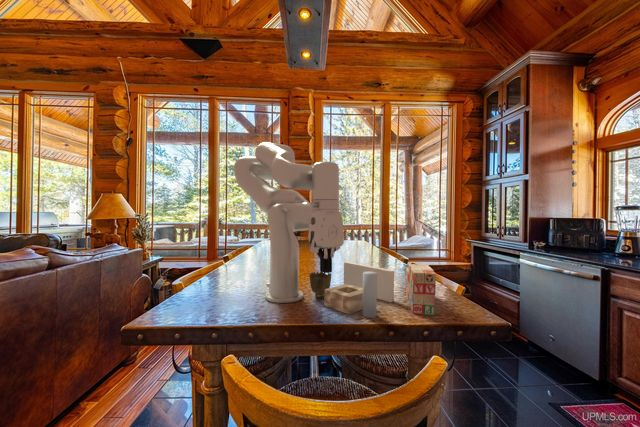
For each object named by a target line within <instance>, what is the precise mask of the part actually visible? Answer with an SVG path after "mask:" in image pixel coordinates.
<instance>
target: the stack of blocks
mask: <svg viewBox="0 0 640 427" xmlns="http://www.w3.org/2000/svg"><path fill="white" fill-rule="evenodd" d="M436 281H437V273H436V272H435V270H434V269H433V268H432V267H431V266H429V264H417V263H416V264H415V263H409V264H408V267H405V294H406V298H407V301H408V304H409V307H410V310H411V313H412V314H413V315H422V316H423V315H424V316H426V315H427V316H435V315H436V286H437V285H436V283H437V282H436Z"/></svg>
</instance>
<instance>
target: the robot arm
mask: <svg viewBox="0 0 640 427" xmlns="http://www.w3.org/2000/svg"><path fill="white" fill-rule="evenodd" d="M233 171H234V172H233V173H234V176H235V177H234V178H235V180H236V183H237V184H238V186H239V187H240V188H241V190H242V191H243V192H245V193H246V194H247V195H248V196H249V197H250V198H251V200H252V201H253V202H254V203H255V204H256V205H257V206H258V208H260V210H261V211H262V212H263V213H265V214H266V215H267V224H268V230H269V241H270V242H269V243H270V244H269V247H270V248H269V249H270V252H269V256H270V260H269V263H270V264H269V265H270V267H269V268H270V272H269V273H270V274H269V276H270V278H269V282H267V283H266V284H265V285H266V287H268V288H269V290H268V291H267V292H266V293H265V296H264V298H265V299H266V300H267V301H269V302H271V303H276V304H277V303H279V304H288V303H290V304H291V303H295V302H298V301H300V300H302V299H303V298H304V292H303V291H301V290H299V289H300V279H299V277H300V243H299V240H298V238H297V236H296V235H295V232H301V231H303V232H304V231H308V245H309V246H310V250H309V252H311V253H314V254H316V255H317V257H318V258H319V271H320V272H323V273H325V274H328V273H332V272H333V258H334V256H335V253H336V251H338V250H340V249H341V246H343V245H344V244H345V242H344V241H345V238H344V237H345V235H344V233H345V232H344V222H343V216H342V212H341V211H340V168H339V165H338V163H336V162H332V161H319V162H318V161H317V162H315V163H314V164H313V165H309V164H304V163H296V154H295V151H294V150H293V149H292V147H291V146H289V145H286V144H281V143H275V142H269V141H268V142H267V141H265V142H261V143H260V144H258V145H257V146H256V148H255V151H254V156H249V155H248V156H242V157H239V158H238V159H236V160H235V163H234V166H233ZM267 180H268V181H269V180H270V181H273V180H274V182H276V183H277V184H278V185H280V186H282V187H284V188H278V187H274V186H272V185H271V184H270V183H269V182H268V181H267ZM296 190H299V191H312V192H311V196H312V197H311V198H312V201H311V202H309V201H308V200H307V199H306V198H305V197H304V196H303V195H301V194H300V193H299V192H298V191H296ZM320 272H319V273H320Z"/></svg>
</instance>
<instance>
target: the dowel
mask: <svg viewBox="0 0 640 427" xmlns="http://www.w3.org/2000/svg"><path fill="white" fill-rule="evenodd" d="M377 301H378V299H377V273H376V272H370V271H367V272H363V295H362V311H361V315H362V317H364V318H368V319H374V318H377V314H378V313H377V310H378V309H377V308H378V307H377V306H378V305H377V304H378V302H377Z"/></svg>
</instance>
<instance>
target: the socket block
mask: <svg viewBox="0 0 640 427" xmlns="http://www.w3.org/2000/svg"><path fill="white" fill-rule="evenodd" d="M362 295H363V288H360V287H357V286H353V285H349V284H344V283H342V284H340V285H336V286H332V287H330V288H328V289H325V294H324V298H323V299H324V301H323V302H324V306H325V307H327V308H330V309H333V310H335V311H339V312H342V313H344V314H346V315H352V314H355V313H357V312H359V311H361V310H362Z"/></svg>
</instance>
